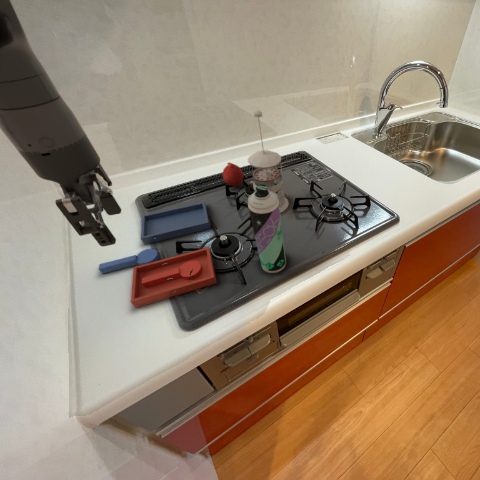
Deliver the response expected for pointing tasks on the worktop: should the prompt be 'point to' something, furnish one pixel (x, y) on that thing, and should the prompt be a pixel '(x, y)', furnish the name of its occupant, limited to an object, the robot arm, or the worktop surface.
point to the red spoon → (174, 274)
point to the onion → (233, 174)
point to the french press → (268, 170)
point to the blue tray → (174, 222)
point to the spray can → (267, 229)
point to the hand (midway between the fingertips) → (112, 227)
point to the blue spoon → (130, 261)
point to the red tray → (166, 289)
